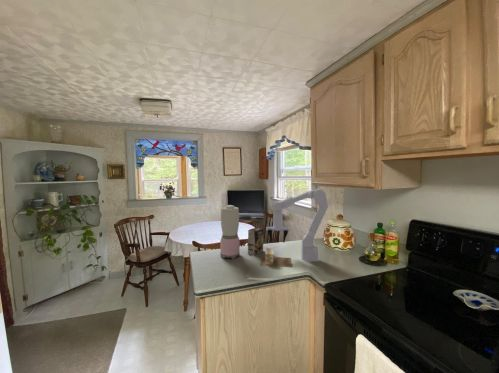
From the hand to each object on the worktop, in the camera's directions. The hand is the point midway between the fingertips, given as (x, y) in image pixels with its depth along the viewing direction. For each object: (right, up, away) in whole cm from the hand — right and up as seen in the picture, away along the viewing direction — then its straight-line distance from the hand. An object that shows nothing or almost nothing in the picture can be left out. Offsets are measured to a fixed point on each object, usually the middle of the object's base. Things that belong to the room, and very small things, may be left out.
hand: (277, 241), depth 138 cm
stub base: (-2, -10, -9) cm, 14 cm away
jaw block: (-6, -9, -9) cm, 14 cm away
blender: (-30, -9, +3) cm, 32 cm away
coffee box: (-14, -9, +6) cm, 17 cm away
